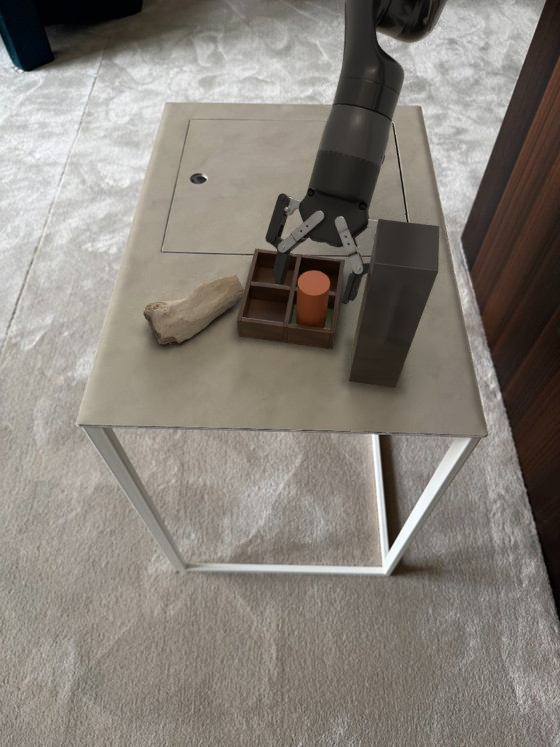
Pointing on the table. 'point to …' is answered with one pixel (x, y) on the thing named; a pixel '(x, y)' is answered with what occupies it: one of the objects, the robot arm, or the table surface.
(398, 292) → the stand
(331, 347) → the grid
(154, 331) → the bone fragment
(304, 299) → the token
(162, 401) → the table surface
